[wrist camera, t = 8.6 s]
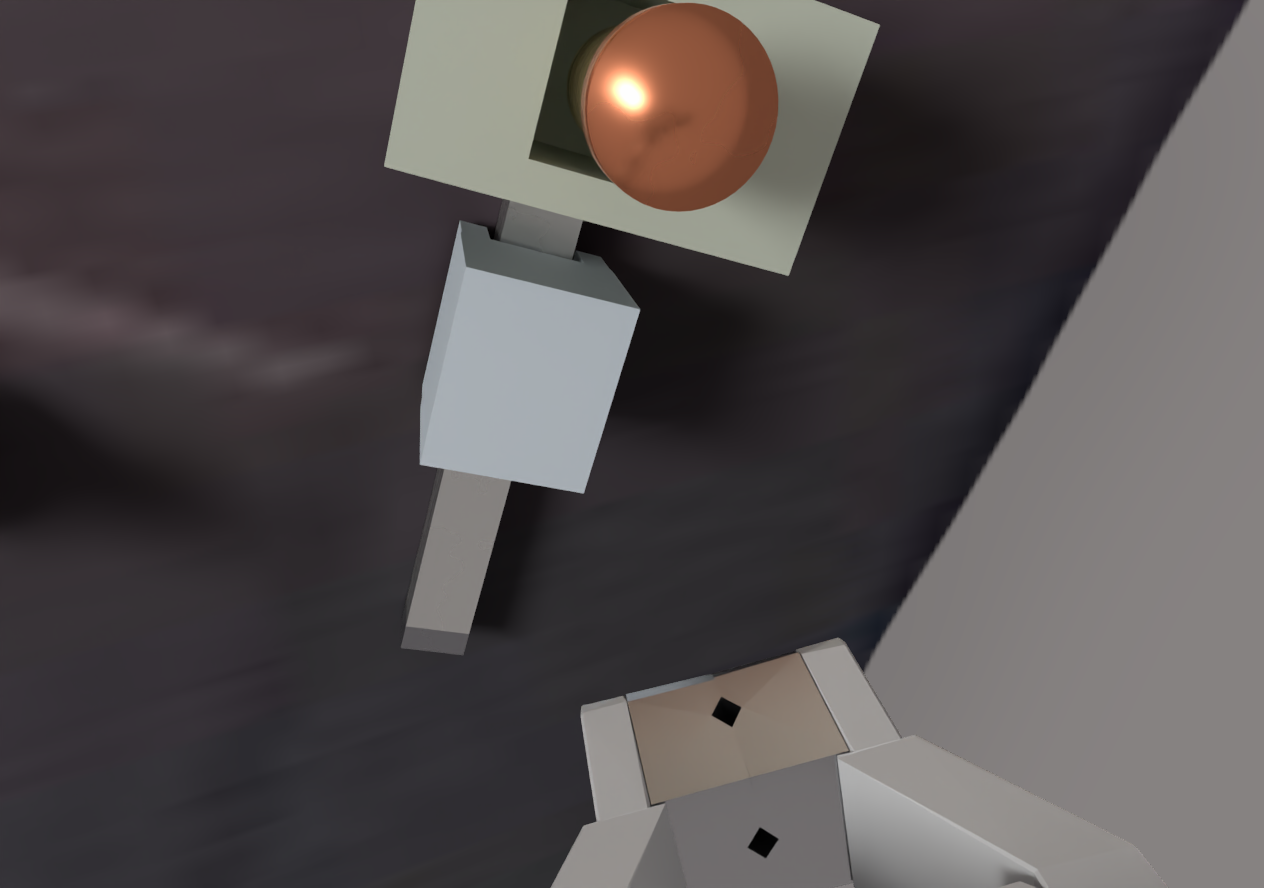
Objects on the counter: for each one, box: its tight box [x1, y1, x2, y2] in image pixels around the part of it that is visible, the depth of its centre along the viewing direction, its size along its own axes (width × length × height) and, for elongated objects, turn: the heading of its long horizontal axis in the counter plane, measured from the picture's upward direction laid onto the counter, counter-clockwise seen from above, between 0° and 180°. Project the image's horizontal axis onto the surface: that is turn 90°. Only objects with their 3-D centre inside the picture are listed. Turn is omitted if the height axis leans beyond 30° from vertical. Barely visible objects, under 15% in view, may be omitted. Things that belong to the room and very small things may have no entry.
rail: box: [401, 199, 583, 655], centre depth 33 cm, size 18×2×2 cm, turn 163°
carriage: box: [420, 221, 640, 493], centre depth 29 cm, size 6×5×6 cm
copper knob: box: [567, 3, 779, 212], centre depth 19 cm, size 4×4×6 cm
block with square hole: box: [384, 0, 880, 276], centre depth 25 cm, size 6×10×10 cm, turn 73°
